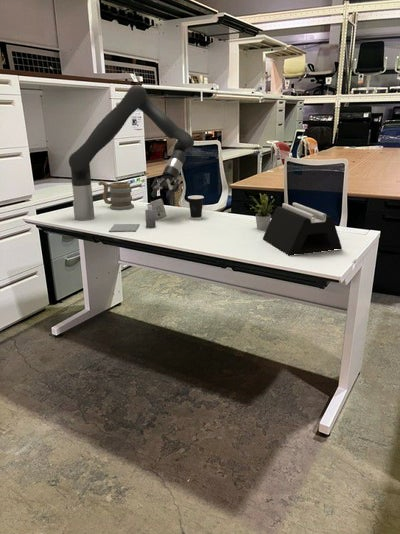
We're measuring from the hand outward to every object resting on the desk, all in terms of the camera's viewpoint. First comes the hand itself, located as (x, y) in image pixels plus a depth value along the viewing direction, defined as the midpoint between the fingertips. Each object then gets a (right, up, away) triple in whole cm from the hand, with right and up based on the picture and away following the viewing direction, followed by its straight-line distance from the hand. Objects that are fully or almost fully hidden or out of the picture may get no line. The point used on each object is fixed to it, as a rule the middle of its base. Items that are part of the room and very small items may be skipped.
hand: (160, 197), depth 198 cm
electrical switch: (-3, -8, +15) cm, 18 cm away
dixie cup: (+17, -9, +12) cm, 23 cm away
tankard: (-29, +1, +41) cm, 50 cm away
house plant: (+47, -15, -7) cm, 50 cm away
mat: (-16, -15, -4) cm, 23 cm away
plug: (-4, -14, -2) cm, 15 cm away
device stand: (+59, -25, -32) cm, 72 cm away
